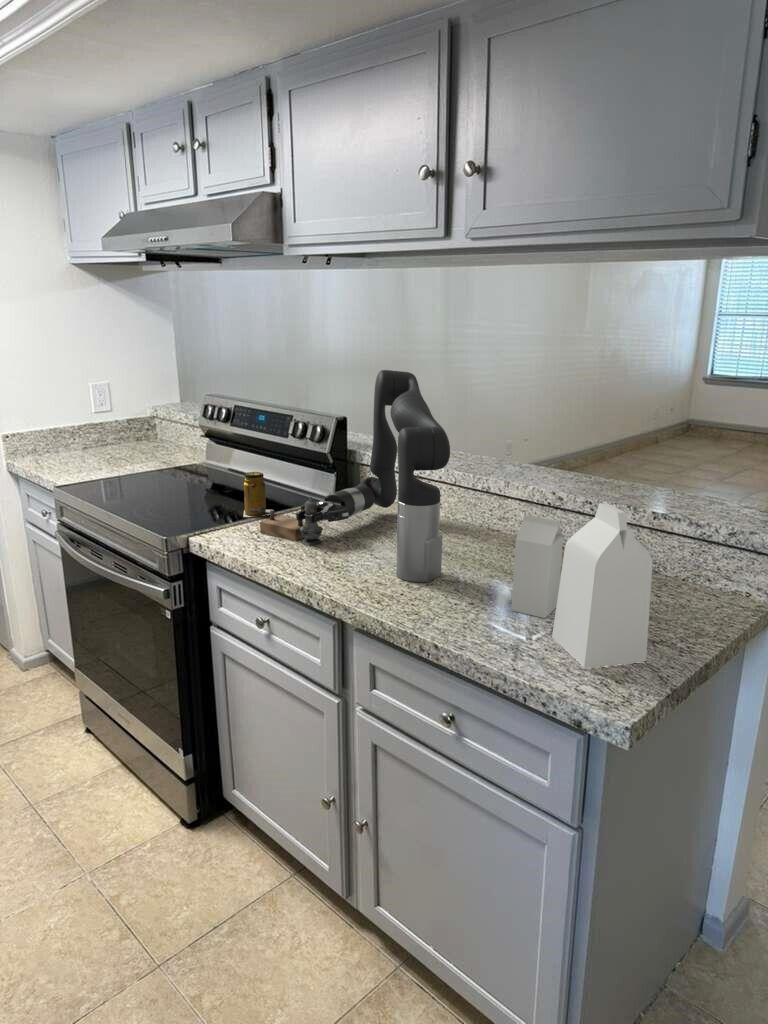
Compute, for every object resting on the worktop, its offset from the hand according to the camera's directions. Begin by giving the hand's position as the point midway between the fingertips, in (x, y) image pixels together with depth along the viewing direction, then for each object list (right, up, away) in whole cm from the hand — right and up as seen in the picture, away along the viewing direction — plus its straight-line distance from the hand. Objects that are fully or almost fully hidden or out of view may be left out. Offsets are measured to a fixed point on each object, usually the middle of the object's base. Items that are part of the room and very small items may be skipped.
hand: (304, 518), depth 179 cm
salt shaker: (+1, -6, +4) cm, 8 cm away
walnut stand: (-6, -4, +11) cm, 13 cm away
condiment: (-16, +1, +29) cm, 33 cm away
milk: (+57, -23, -52) cm, 81 cm away
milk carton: (+50, -18, -35) cm, 64 cm away
